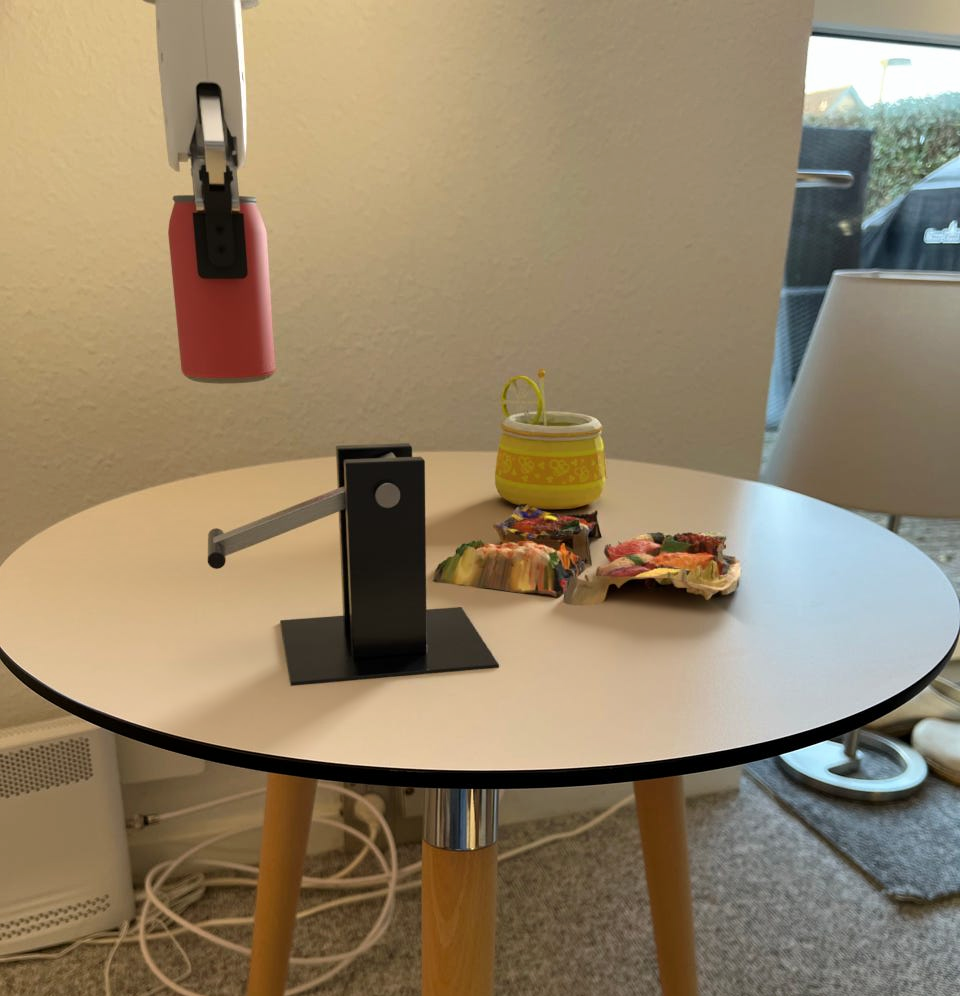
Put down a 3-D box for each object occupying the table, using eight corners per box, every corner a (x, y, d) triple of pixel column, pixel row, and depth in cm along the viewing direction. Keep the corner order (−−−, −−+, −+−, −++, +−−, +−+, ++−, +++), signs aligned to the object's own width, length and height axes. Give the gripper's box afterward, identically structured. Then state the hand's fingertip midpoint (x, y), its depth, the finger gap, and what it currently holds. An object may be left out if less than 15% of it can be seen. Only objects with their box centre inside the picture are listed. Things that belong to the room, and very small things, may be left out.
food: (756, 562, 82) (761, 519, 81) (722, 642, 66) (727, 590, 64) (500, 532, 89) (501, 492, 88) (412, 598, 73) (411, 550, 72)
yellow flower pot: (618, 513, 96) (627, 383, 91) (504, 516, 94) (507, 384, 90) (585, 482, 108) (591, 366, 103) (483, 485, 106) (484, 367, 102)
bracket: (291, 701, 57) (277, 476, 52) (281, 637, 66) (267, 439, 61) (499, 682, 60) (503, 466, 55) (461, 623, 69) (462, 432, 64)
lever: (217, 583, 56) (198, 544, 55) (217, 557, 60) (200, 520, 59) (417, 503, 57) (402, 464, 56) (402, 483, 61) (388, 447, 60)
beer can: (193, 372, 76) (177, 197, 71) (282, 372, 76) (271, 198, 72) (172, 384, 70) (152, 194, 65) (268, 385, 70) (256, 195, 66)
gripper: (139, -3, 71) (167, 271, 77) (127, -68, 55) (162, 282, 62) (250, 4, 72) (267, 271, 79) (267, -57, 57) (287, 282, 64)
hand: (221, 273), depth 70 cm, fingers closed on beer can, 6 cm apart
